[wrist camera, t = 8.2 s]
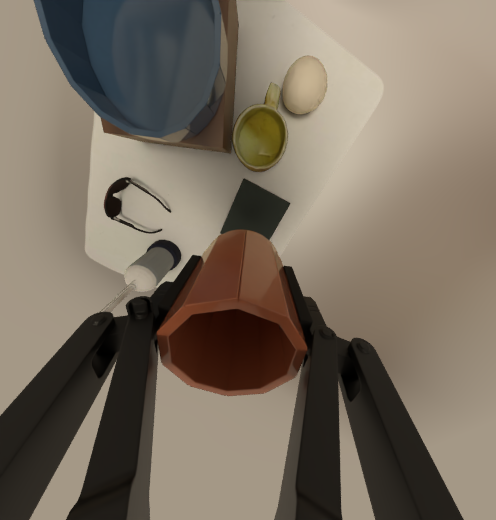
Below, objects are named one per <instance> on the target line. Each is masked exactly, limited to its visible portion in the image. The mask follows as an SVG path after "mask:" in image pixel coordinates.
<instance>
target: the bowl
mask: <svg viewBox="0 0 496 520" xmlns="http://www.w3.org/2000/svg"><path fill="white" fill-rule="evenodd" d="M34 3H35V7H36V10H37V13H38V17H39V20H40V24H41V28H42V31H43V34H44V38H45V39H46V42H47V44H48V46H49V48H50V49H51V51H52V53H53V55H54V56H55V58H56V60H57V62H58V64H59V66H60V67H61V69H62V71H63V73H64V75H65V76H66V78H67V80H68V82H69V83H70V85H71V86H72V87H73V88H74V90H75V91H76V92H77V93H78V94H79V95H80V96H81V97H82V98H83V99H84V100H85V101H86V103H87V104H88V105H89V106H90V107H91V108H92V109H93V110H94V111H95V112H96V113H97V114H98V115H99V116H100V117H101V118H103V119H104V120H106V121H108V122H110V123H111V124H113V125H115V126H117V127H118V128H120V129H122V130H123V131H125V132H127V133H129V134H131V135H135V136H138V137H142V138H146V139H149V140H155V141H162V142H170V143H177V142H179V141H183V140H187V139H189V138H191V137H193V136H196V135H197V134H198V133H199V132H201V131H202V130H203V129H204V128H205V127H206V126H207V125H208V123H209V122H210V121H211V120H212V118H213V117H214V116H215V114H216V111H217V109H218V107H219V105H220V102H221V100H222V96H223V93H224V89H225V87H226V79H227V67H228V60H227V56H228V42H227V37H226V33H225V28H224V23H223V18H222V13H221V9H220V4H219V0H34Z"/></svg>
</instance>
